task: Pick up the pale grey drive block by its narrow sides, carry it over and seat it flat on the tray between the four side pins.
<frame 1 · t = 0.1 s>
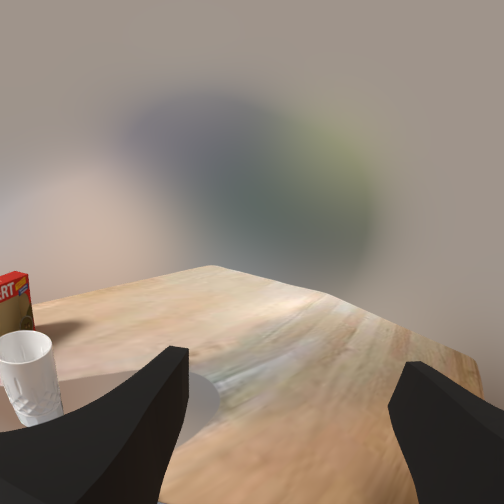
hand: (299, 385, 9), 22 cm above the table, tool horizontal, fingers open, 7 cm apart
white cup: (40, 414, 28), on the table
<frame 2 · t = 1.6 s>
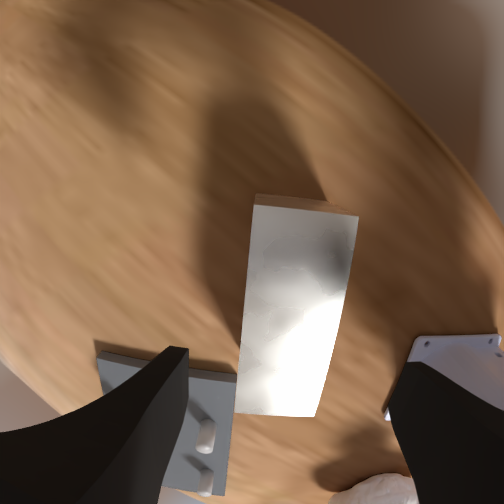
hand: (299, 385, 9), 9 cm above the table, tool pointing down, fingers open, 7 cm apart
drive: (281, 281, 18), on the table
pin tray: (170, 436, 22), on the table
bust: (377, 479, 24), on the table
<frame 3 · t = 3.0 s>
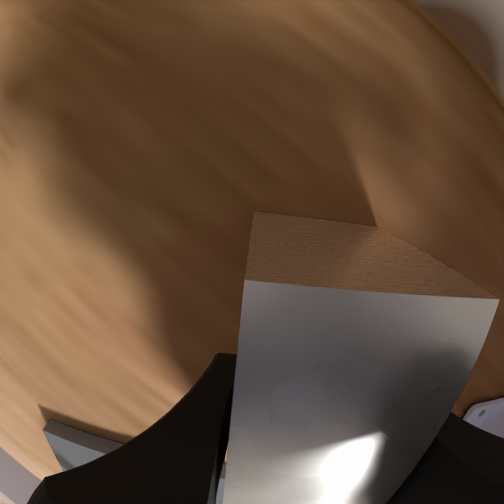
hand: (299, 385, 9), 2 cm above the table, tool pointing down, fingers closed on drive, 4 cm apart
drive: (294, 357, 11), on the table, touching gripper
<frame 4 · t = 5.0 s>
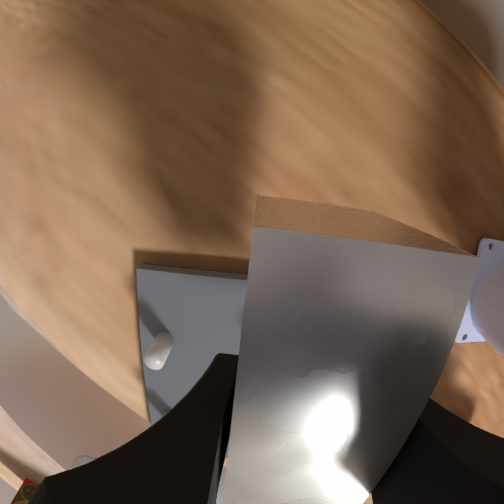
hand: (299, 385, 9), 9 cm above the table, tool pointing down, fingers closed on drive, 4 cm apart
drive: (295, 336, 11), point 7 cm above the table, touching gripper
pin tray: (217, 379, 20), on the table
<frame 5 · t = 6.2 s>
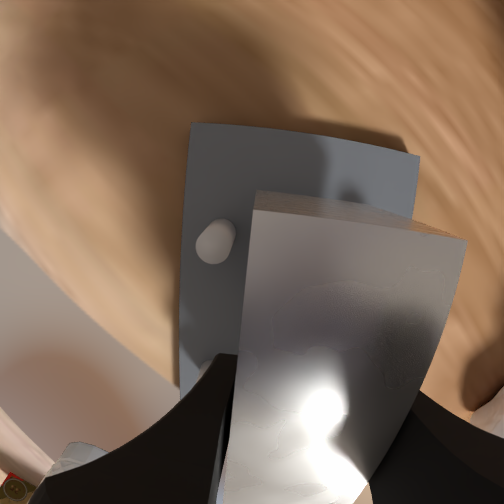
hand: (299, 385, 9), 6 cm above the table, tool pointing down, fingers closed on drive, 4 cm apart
white cup: (101, 463, 20), on the table
drive: (293, 327, 12), point 3 cm above the table, touching gripper
pin tray: (286, 306, 15), on the table
when the fingers open (4 cm above the table, at t = 7.0 s): drive stays where it is, resting on pin tray.
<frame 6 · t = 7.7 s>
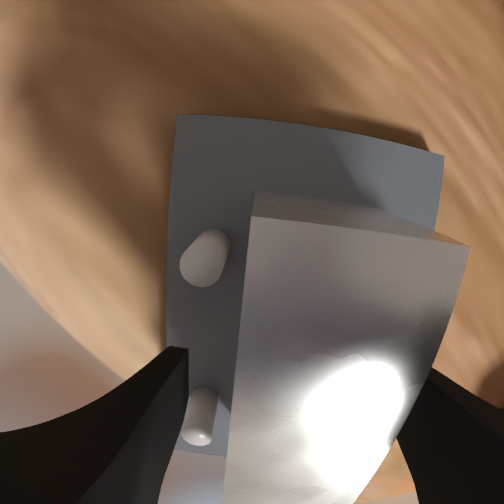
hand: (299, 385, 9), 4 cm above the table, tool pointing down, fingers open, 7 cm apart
drive: (293, 328, 12), point 1 cm above the table, touching pin tray
pin tray: (289, 328, 13), on the table
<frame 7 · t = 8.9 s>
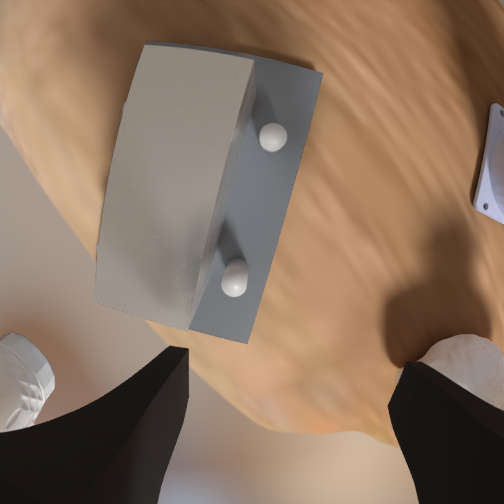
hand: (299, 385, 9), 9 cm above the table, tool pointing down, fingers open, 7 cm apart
white cup: (28, 363, 21), on the table
drive: (194, 180, 16), point 1 cm above the table, touching pin tray
pin tray: (196, 189, 17), on the table
bust: (448, 356, 20), on the table
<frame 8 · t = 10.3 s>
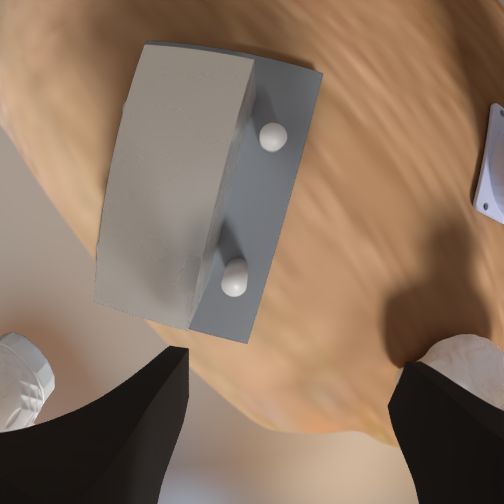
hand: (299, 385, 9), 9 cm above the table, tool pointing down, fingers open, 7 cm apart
white cup: (28, 362, 21), on the table
drive: (194, 180, 16), point 1 cm above the table, touching pin tray
pin tray: (196, 189, 17), on the table
bust: (448, 356, 20), on the table
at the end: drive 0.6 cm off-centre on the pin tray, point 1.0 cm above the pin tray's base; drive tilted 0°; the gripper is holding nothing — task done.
